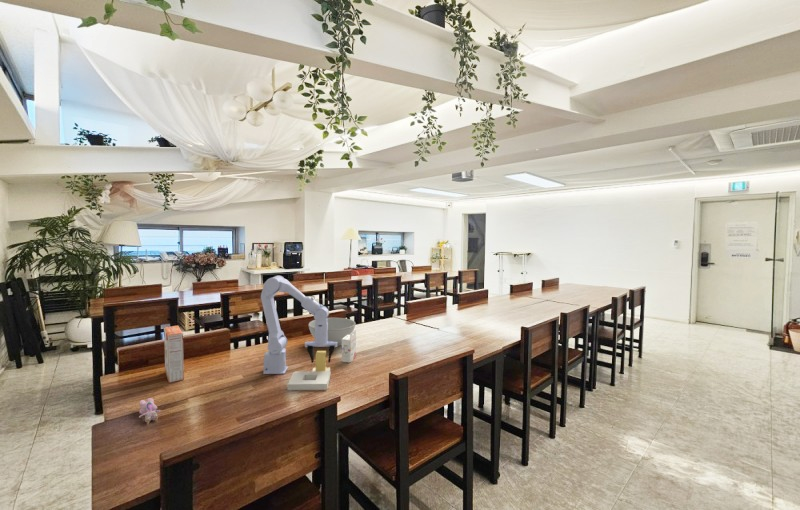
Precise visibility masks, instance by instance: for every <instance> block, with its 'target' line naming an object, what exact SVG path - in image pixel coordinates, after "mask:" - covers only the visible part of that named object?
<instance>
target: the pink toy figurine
mask: <svg viewBox="0 0 800 510" xmlns="http://www.w3.org/2000/svg"><path fill="white" fill-rule="evenodd" d="M154 402H155V400H154V398H153V397H149V398H146V400H145V399H141V400H139V406H140V409H139V414H140V415H139V416H138V418H139V419H140V418H142V417H144V421H145V423H146V425H149V424H150V422H151V421H155V423H157V422H159V419H158V418H159V417H158V416H159V415H158V413H161V412H162V410H161V409H158V406H157V405H156V404H155V403H154Z"/></svg>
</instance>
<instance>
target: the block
mask: <svg viewBox="0 0 800 510" xmlns="http://www.w3.org/2000/svg"><path fill="white" fill-rule="evenodd" d="M326 367H327V350H317V351H316V353H315V368H316V371H326Z"/></svg>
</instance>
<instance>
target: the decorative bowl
mask: <svg viewBox="0 0 800 510" xmlns="http://www.w3.org/2000/svg"><path fill="white" fill-rule="evenodd" d="M327 318H328V341H332V342H337V347H340V346H342V339H343V338H344V337H345V336H346V335H350V334H351V333H352V332H353V331H354V330H355V327H356V321H354V320H353V319H349V318H345V317H327ZM315 323H316V320H315V319H313V320H311V321H309V323H308V324H307V325H308V329H309V331H310V334H311V336H312V338H314V339H315Z"/></svg>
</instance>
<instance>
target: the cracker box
mask: <svg viewBox="0 0 800 510" xmlns="http://www.w3.org/2000/svg"><path fill="white" fill-rule="evenodd" d="M163 340H164V341H163V342H164V371H165V375H166V378H167V382H168V384H171V383H176V382H180V381H184V380H185V371H184V369H185V368H184V367H185V366H184V364H185V363H184V333H183V332H182V330H181V328H180V326H179V325H172V326H170V325H169V326H166V327H163Z"/></svg>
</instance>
